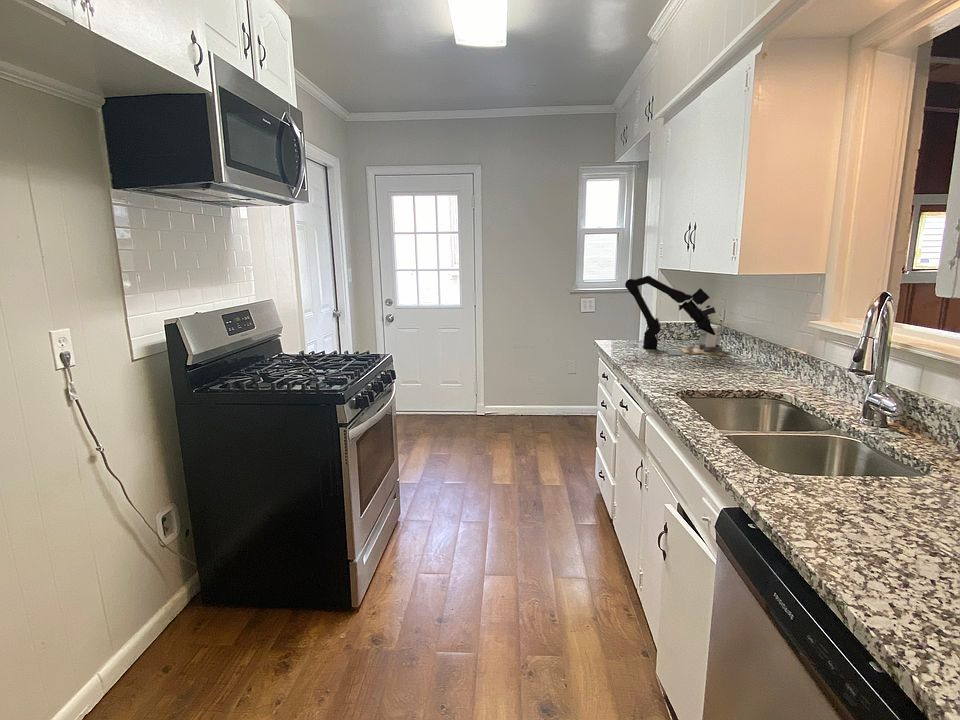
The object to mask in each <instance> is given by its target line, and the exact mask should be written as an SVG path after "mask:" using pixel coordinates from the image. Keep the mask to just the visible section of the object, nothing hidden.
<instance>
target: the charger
mask: <svg viewBox="0 0 960 720" xmlns="http://www.w3.org/2000/svg"><path fill="white" fill-rule="evenodd" d="M712 329H713V330H714V332H715V335H712V334H710V333H708V332H707V335H706V345H705V346H706V347H715V346H716V337H717V327H712Z"/></svg>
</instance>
